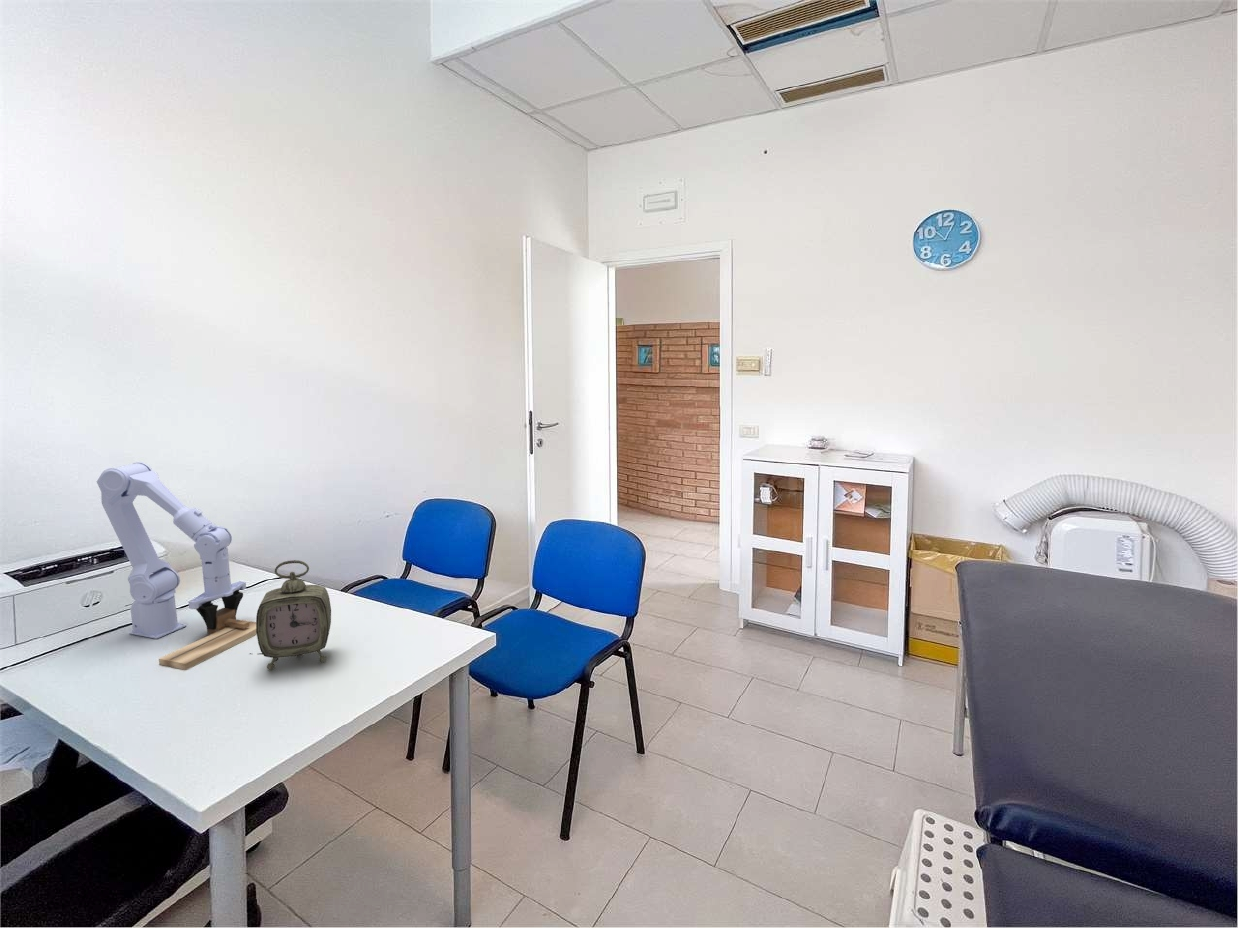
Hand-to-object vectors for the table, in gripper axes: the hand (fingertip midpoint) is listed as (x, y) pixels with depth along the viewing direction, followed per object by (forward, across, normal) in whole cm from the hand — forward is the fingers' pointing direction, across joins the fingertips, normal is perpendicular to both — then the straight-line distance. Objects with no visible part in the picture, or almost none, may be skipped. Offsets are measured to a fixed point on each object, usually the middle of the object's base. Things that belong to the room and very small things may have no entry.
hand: (221, 624), depth 152 cm
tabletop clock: (+2, -7, -31) cm, 32 cm away
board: (+2, -7, -6) cm, 10 cm away
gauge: (+2, 0, -3) cm, 4 cm away
